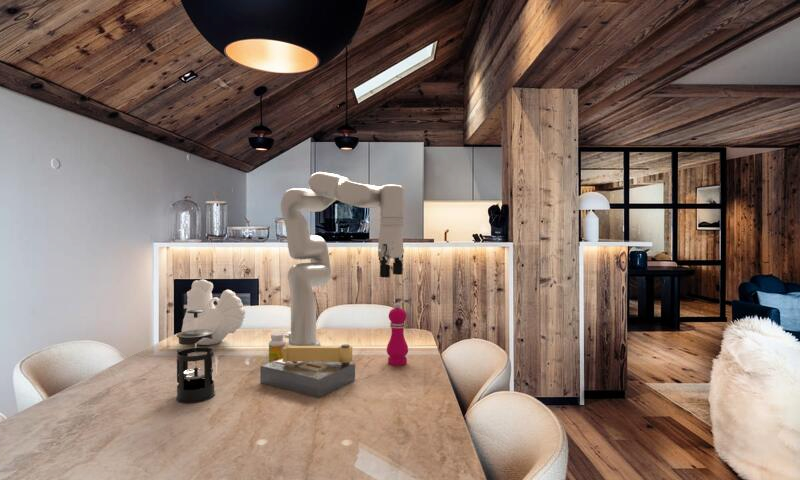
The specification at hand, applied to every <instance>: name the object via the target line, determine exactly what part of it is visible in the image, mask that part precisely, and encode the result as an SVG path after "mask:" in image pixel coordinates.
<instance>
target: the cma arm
mask: <svg viewBox="0 0 800 480" xmlns="http://www.w3.org/2000/svg"><path fill="white" fill-rule="evenodd" d="M287 361H311V362H341V364H349V363H353V346H352V345H350V344H346V343H345V344H341V345H333V346H331V345H319V346H290V345H287V344H286V346H284V347H283V362H287Z"/></svg>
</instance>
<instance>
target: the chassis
mask: <svg viewBox="0 0 800 480" xmlns="http://www.w3.org/2000/svg"><path fill="white" fill-rule="evenodd" d="M259 372H260V377H259V378H260V380H259V381H260V384H263V385H267V386H271V387H274V388H279V389H283V390H285V391H291V392H294V393H298V394H301V395H306V396H309V397H313V398H317V399H320V398H322V397H324V396H326V395H328V394H330V393H332V392H335V391H336V390H338V389H340V388H342V387H344V386H346V385H348V384H350V383H353V382H354V381H356V363H354V362H350V363H349V364H341V362H311V361H287V362H283V358H282V359H279V360H276V361H273V362H270V363H269V362H267V363H265V364H261V365H260V371H259Z"/></svg>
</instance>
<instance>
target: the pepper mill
mask: <svg viewBox="0 0 800 480" xmlns="http://www.w3.org/2000/svg"><path fill="white" fill-rule="evenodd" d="M388 319H389V321H390V323H389V324H390V325H389V327H390V329H391V335H390V338H389V341H388V343H387V345H386V353H387V355H388V357H387V364H389V365H390V366H394V367H395V366H399V367H401V366H404V365H406V364H407V361H408V359H407V355H408V353H409V346H408V344H407V341H406V339H405V336H404V328H405V327H406V325H405V324H406V323H405V321H406V319H407V313H406V310H405V309H403V308H401V304H400V303H398V302H397V303H395V305H394V308H392V309H391V310H390V311H389V312H388Z"/></svg>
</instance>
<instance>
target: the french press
mask: <svg viewBox="0 0 800 480" xmlns="http://www.w3.org/2000/svg"><path fill="white" fill-rule="evenodd" d="M186 311H187V310H186ZM201 312H204V310H200V309H196V310H190V311H187V313H194V318H195V330H190V331H184V332H182V331H181V332H179V333H177V334H176V337H177V338H178V344H179V345H182V346H192V345H194V347H189V348H182V349H178V350H176V383H178V384H177V385H176V398H175V400H176V402H178V403H181V404H196V403H200V402H201V403H202V402H205V401H208V400H211V399H212V398H214V396H215V395H216V391H215V380H214V379H213V372H214V369H213V357H214V356H215V349H214V348H213V347H207V346H197V345H198V344H197V342H198V341H199V340H201V339H202V338H210V339H212V335H213V334H214V331H213V330H205V329H201V330H197V323H196V318H197V317H198V313H201ZM193 353H194V355H191V356H190V355H189V354H193ZM197 353H204V354H200V355H198V354H197ZM198 361H203V362H204V366H203V367H198V366H197V364H198V363H197V362H198ZM189 362H194V367H193V368H189Z"/></svg>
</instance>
